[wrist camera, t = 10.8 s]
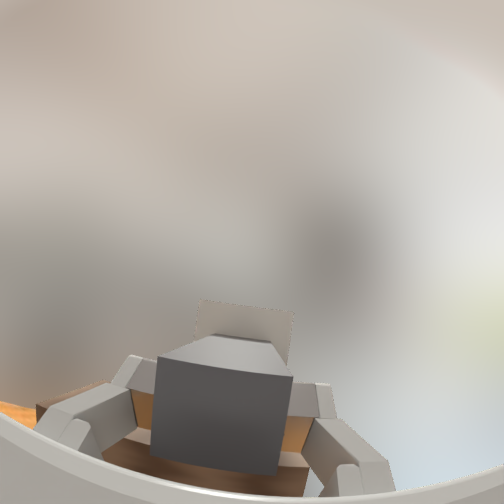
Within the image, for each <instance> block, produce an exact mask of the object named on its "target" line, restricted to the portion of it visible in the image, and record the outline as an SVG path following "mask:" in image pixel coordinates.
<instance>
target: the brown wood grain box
mask: <svg viewBox="0 0 504 504" xmlns="http://www.w3.org/2000/svg"><path fill="white" fill-rule="evenodd" d="M104 383H109V384H110V383H111V382H108V381H104V380H101V381H99V382H96V383H93V384H91V385H88V386H85V387H82V388H80V389H77V390H74V391H72V392H69V393H66V394H63V395H60V396H57V397H54V398H51V399H49V400H46V401H43V402H40V403H37V404H36V418H37V423H38V422H39V420H40V419H41V417H42V416H43V415H44V413H45V412H46V411H47V409H48V408H49V407H50V406H51V405H54V404H56V403H59V402H61V401H64V400H66V399H69V398H71V397H74V396H76V395H78V394H81V393H83V392H86V391H88V390H90V389H93V388H95V387H97V386H100V385H102V384H104ZM150 438H151V430H148V429H143V428H139V427H137V429H136V430H134V431H133V432H131V433H130V434H128V435H127V436H125V437H124V438H123V439H121V440H120V441H118V442H117V443H115V444H114V445H112V446H111V447H109V448H108V449H106V450H105V451H103V452H102V453H101V454H102V456H103V459H104V461H105V462H108V463H110V464H113V465H116V466H119V467H122V468H125V469H129V470H132V471H135V472H139V473H142V474H146V475H149V476H153V477H157V478H160V479H164V480H169V481H173V482H177V483H182V484H187V485H191V486H197V487H202V488H208V489H214V490H220V491H227V492H235V493H243V494H253V495H264V496H280V497H303V493H304V489H305V485H306V481H307V477H308V472H309V468H310V467H309V465H308V463H307V462H306V461H305V459H304V458H303V456H302V455H301V453H296V452H284V451H281V453H280V458H279V463H278V468H277V473H276V476H269V475H257V474H248V473H239V472H232V471H225V470H218V469H212V468H206V467H200V466H195V465H190V464H185V463H180V462H176V461H172V460H167V459H163V458H159V457H155V456H151V455H150Z"/></svg>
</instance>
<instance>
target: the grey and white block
mask: <svg viewBox="0 0 504 504" xmlns="http://www.w3.org/2000/svg"><path fill="white" fill-rule="evenodd" d="M293 315H294V312H291V311H283V310H274V309H266V308H258V307H251V306H243V305H236V304H229V303H221V302H214V301H208V300H201V299H200V301H199V307H198V315H197V321H196V329H195V336H194V342H193V343H190V344H188V345H185V346H182V347H180V348H177V349H175V350H172V351H170V352H167V353H165V354H162V355H160V356H158V358H157V367H156V377H155V387H154V398H153V409H152V423H151V438H150V455H151V456H155V457H159V458H163V459H167V460H172V461H176V462H180V463H185V464H190V465H195V466H200V467H206V468H212V469H218V470H225V471H232V472H239V473H248V474H257V475H269V476H276V473H277V468H278V463H279V458H280V453H281V448H282V442H283V437H284V431H285V425H286V420H287V414H288V408H289V402H290V395H291V389H292V383H293V375H292V374H291V372H290V371H289V369H288V368H287V359H288V352H289V345H290V338H291V330H292V322H293Z"/></svg>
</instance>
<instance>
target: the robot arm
mask: <svg viewBox="0 0 504 504" xmlns="http://www.w3.org/2000/svg"><path fill="white" fill-rule="evenodd" d="M156 367H157V361H155V360H151V359H147V358H142V357H138V356H134V355H130V356H128V357H127V359H126V360H125V362H124V363H123V365H122V366H121V368H120V369H119V371H118V372H117V374H116V375H115V377H114V378H113V380H112V381H111V383H110V384H109V383H104V384H102V385H100V386H97V387H95V388H93V389H90V390H88V391H86V392H83V393H81V394H78V395H76V396H74V397H71V398H69V399H66V400H64V401H61V402H59V403H56V404H54V405H51V406H50V407H49V408H48V409H47V411H46V412H45V413H44V415H43V416H42V417H41V419H40V420H39V422H38V423H37V424H36V426H35V427H34V428H33V430H32V429H30V428H28V427H26V426H24V425H22V424H20V423H19V422H17V421H15V420H13V419H12V418H10V417H8V416H6V415H5V414H3V413H1V412H0V504H504V464H502V465H500V466H496V467H493V468H491V469H488V470H485V471H481V472H478V473H475V474H472V475H468V476H465V477H461V478H458V479H454V480H450V481H446V482H442V483H437V484H433V485H428V486H423V487H418V488H412V489H407V490H400V491H396V489H395V485H394V482H393V478H392V474H391V470H390V466H389V462H388V460H386V459H385V458H384V457H383V456H382V455H381V454H380V453H378V452H377V451H376V450H375V449H374V448H373V447H372V446H370V445H369V444H368V443H367V442H366V441H365V440H364V439H363V438H361V436H359V435H358V434H357V433H356V432H355V431H354V430H353V429H352V428H351V427H349V425H347V424H346V423H345V422H344V421H343V420H342V419H337V416H336V411H335V405H334V400H333V395H332V390H331V386H330V384H329V383H328V384H327V383H304V382H293V383H292V389H291V395H290V402H289V408H288V414H287V420H286V425H285V431H284V437H283V442H282V448H281V451H284V452H296V453H301V455H302V456H303V458H304V459H305V461H306V462H307V463H308V465H309V466H310V467H311V469H312V470H313V472H314V473H315V474H316V475H317V477H318V478H319V480H320V481H321V482H322V484H323V485H324V486H325V487H324V489H323V491H322V492H321V493H320V495H319V496H318V497H280V496H264V495H253V494H243V493H235V492H227V491H220V490H214V489H208V488H202V487H197V486H191V485H187V484H182V483H177V482H173V481H169V480H164V479H160V478H157V477H153V476H149V475H146V474H142V473H139V472H135V471H132V470H129V469H125V468H122V467H119V466H116V465H113V464H110V463H108V462H105V461H104V459H103V456H102V454H101V453H102V452H103V451H105V450H106V449H108V448H109V447H111V446H112V445H114V444H115V443H117V442H118V441H120V440H121V439H123V438H124V437H125V436H127V435H128V434H130V433H131V432H133V431H134V430H136V429H137V427H139V428H143V429H148V430H151V423H152V409H153V398H154V387H155V377H156Z"/></svg>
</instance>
